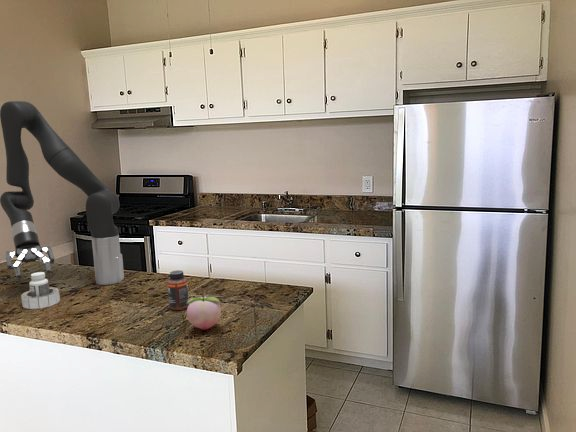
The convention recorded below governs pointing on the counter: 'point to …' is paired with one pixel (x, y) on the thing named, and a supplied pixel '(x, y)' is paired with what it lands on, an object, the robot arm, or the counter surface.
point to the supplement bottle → (177, 291)
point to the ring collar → (40, 299)
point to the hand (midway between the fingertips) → (34, 275)
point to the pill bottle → (39, 284)
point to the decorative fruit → (203, 312)
